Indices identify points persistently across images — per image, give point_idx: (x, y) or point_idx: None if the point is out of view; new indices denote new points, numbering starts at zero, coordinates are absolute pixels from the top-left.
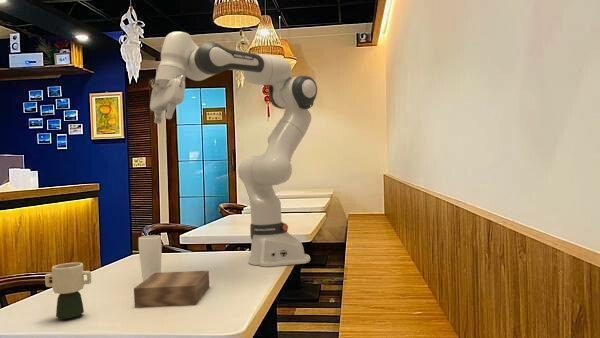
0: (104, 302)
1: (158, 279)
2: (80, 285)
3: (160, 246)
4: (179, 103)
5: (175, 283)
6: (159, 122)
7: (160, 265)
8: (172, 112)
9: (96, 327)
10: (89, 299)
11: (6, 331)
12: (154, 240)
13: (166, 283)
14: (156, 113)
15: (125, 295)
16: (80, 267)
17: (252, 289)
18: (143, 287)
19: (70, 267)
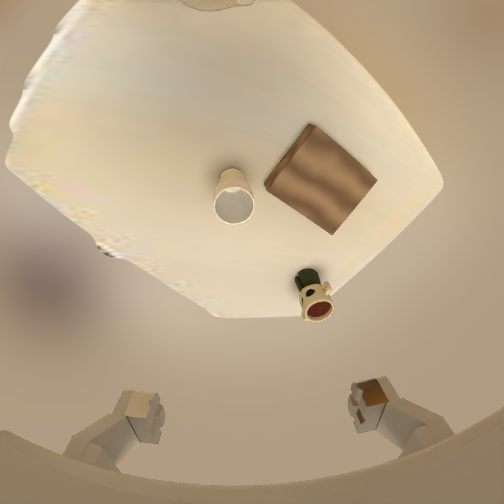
0: (276, 245)
1: (312, 200)
2: (326, 289)
3: (247, 185)
4: (491, 415)
5: (350, 192)
6: (157, 398)
7: (242, 176)
8: (406, 405)
9: (354, 263)
10: (249, 256)
11: None
12: (254, 201)
13: (341, 200)
14: (112, 460)
15: (263, 221)
16: (330, 300)
17: (361, 92)
18: (337, 226)
19: (333, 309)
